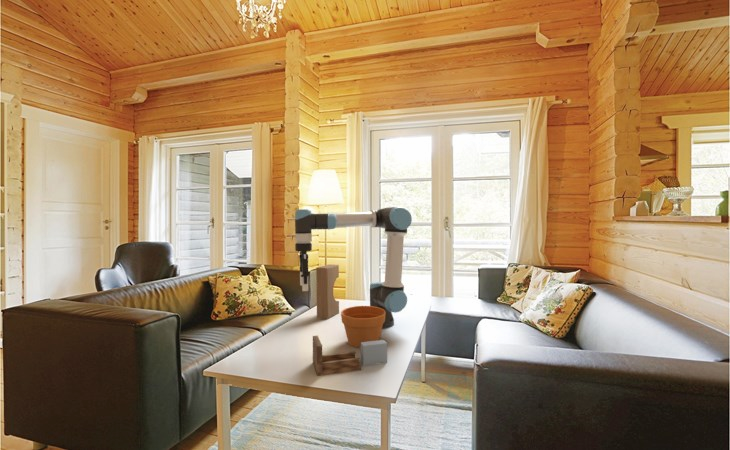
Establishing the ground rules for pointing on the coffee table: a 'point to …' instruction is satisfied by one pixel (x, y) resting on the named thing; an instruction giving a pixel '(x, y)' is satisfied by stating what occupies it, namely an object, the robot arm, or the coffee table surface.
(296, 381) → the coffee table surface
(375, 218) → the robot arm
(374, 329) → the flower pot
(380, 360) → the blue-gray rectangular block
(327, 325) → the coffee table surface
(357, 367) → the track
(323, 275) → the decorative block
